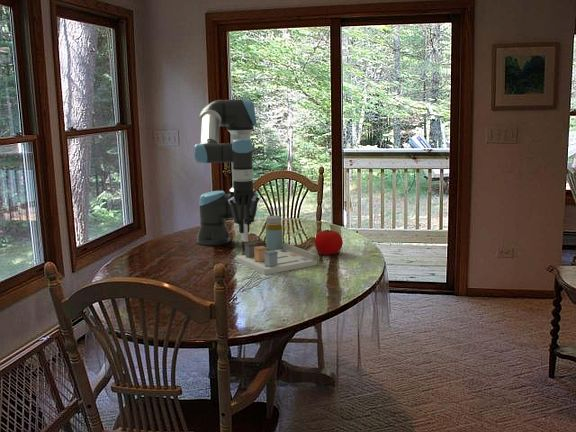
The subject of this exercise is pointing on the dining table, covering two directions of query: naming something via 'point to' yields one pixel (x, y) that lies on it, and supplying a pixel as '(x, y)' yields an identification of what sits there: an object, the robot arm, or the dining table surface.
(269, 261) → the slider right
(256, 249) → the slider mid
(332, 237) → the tomato
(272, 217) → the bottle
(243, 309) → the dining table surface
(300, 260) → the white base board
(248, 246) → the slider left
